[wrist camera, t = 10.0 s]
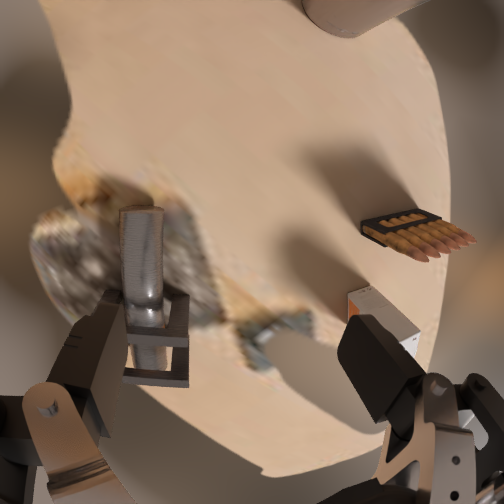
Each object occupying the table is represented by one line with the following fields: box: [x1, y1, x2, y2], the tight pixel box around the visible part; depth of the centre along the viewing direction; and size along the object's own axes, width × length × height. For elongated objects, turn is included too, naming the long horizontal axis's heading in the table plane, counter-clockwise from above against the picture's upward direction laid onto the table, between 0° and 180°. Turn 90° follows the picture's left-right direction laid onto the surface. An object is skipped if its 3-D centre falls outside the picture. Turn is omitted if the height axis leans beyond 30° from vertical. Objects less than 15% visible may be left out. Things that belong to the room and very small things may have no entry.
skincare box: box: [347, 286, 421, 358], centre depth 32 cm, size 6×4×12 cm
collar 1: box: [91, 290, 190, 347], centre depth 27 cm, size 1×11×8 cm, turn 83°
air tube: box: [119, 205, 167, 371], centre depth 29 cm, size 20×5×5 cm, turn 172°
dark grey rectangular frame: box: [121, 335, 189, 388], centre depth 29 cm, size 1×11×8 cm, turn 82°
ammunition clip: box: [361, 209, 477, 262], centre depth 28 cm, size 11×2×12 cm, turn 99°
